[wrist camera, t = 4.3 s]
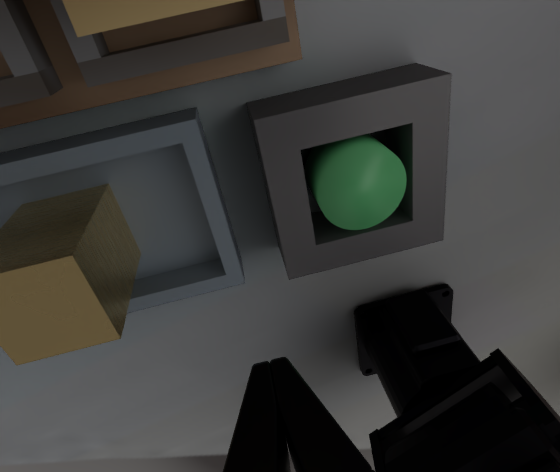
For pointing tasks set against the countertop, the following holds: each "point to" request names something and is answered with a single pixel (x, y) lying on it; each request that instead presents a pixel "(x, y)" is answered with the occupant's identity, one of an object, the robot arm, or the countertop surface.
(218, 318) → the countertop surface
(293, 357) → the countertop surface
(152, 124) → the tray
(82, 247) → the block
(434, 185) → the button base
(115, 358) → the countertop surface
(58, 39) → the pallet
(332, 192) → the button
